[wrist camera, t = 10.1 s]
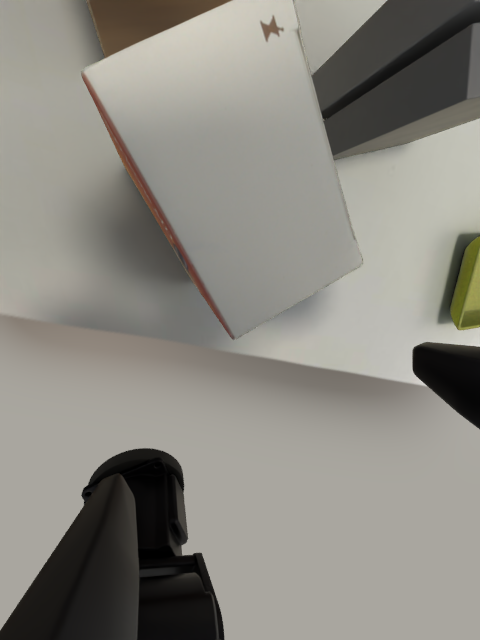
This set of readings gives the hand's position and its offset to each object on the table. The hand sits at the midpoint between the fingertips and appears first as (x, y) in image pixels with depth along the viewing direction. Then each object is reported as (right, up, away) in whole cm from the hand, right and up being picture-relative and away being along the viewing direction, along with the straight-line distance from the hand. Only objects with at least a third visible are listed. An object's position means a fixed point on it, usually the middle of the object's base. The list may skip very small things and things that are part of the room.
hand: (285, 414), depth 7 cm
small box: (-4, +10, +10) cm, 14 cm away
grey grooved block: (+7, +17, +11) cm, 21 cm away
